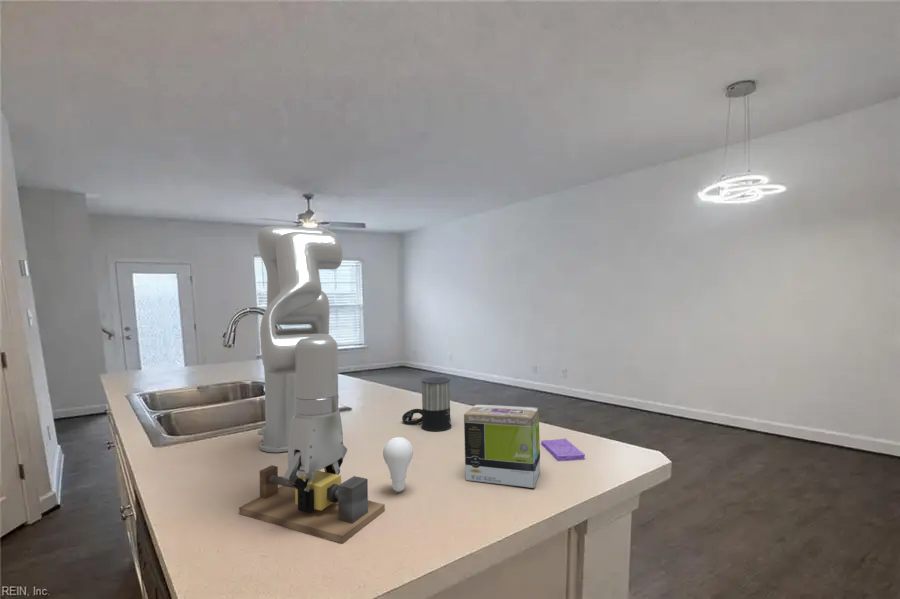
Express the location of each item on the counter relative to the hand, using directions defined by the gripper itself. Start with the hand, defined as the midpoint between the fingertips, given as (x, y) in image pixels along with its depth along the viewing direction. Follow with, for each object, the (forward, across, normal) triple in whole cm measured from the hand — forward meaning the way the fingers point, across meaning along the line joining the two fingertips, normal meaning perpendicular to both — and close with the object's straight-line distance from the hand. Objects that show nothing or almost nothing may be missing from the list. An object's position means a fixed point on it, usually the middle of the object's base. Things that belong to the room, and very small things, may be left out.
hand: (318, 502), depth 81 cm
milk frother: (+2, -58, -9) cm, 59 cm away
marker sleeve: (0, 0, 0) cm, 0 cm away
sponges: (+3, -51, +34) cm, 61 cm away
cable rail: (+2, 0, -2) cm, 3 cm away
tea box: (+2, -30, +25) cm, 39 cm away
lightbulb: (+2, -14, +8) cm, 16 cm away
